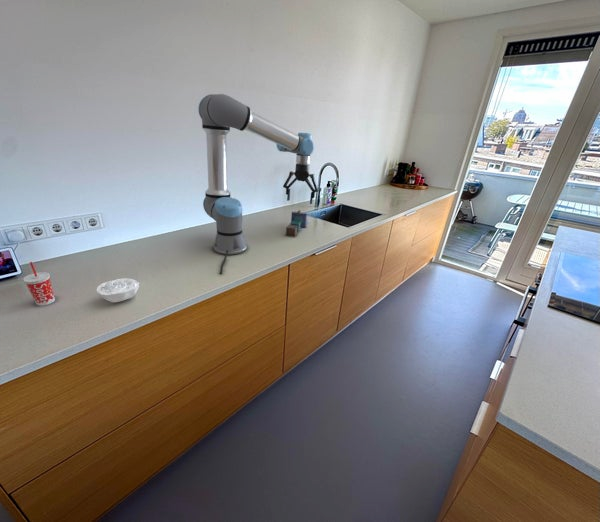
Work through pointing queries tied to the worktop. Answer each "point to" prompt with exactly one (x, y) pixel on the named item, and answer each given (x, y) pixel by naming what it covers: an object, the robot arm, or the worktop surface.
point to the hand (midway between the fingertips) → (299, 202)
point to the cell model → (118, 289)
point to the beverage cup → (40, 287)
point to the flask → (299, 217)
